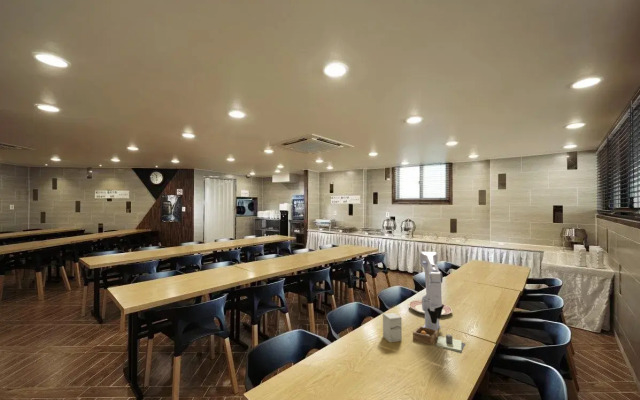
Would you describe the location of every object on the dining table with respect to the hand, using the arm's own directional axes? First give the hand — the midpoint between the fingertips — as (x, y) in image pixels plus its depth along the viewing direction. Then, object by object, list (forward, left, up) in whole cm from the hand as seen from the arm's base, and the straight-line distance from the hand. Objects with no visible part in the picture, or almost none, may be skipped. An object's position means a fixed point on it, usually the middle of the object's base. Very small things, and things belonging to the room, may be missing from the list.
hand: (436, 320), depth 144 cm
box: (+2, -5, -10) cm, 12 cm away
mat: (+1, +7, -10) cm, 13 cm away
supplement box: (+13, -19, -11) cm, 25 cm away
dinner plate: (-42, -16, -11) cm, 46 cm away
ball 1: (0, -6, -10) cm, 12 cm away
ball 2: (+3, -3, -10) cm, 11 cm away
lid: (+1, +7, -10) cm, 12 cm away
